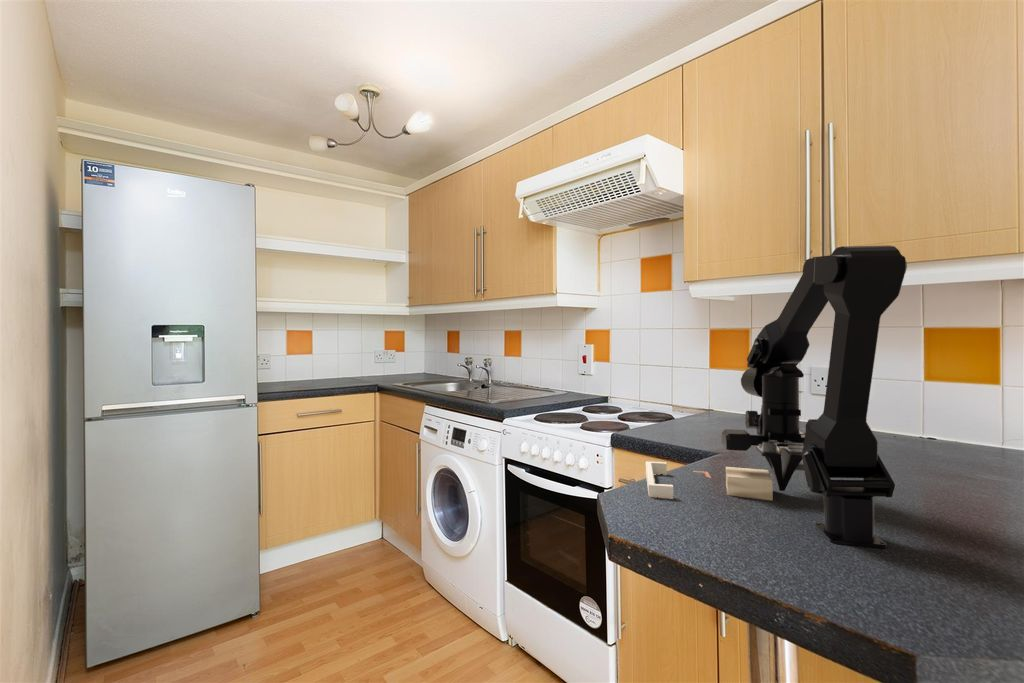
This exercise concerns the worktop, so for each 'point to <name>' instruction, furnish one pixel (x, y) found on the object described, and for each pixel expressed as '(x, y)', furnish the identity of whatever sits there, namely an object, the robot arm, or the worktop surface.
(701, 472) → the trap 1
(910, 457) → the worktop surface
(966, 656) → the worktop surface
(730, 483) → the birch block
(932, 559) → the worktop surface
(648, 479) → the cream u-shaped piece
